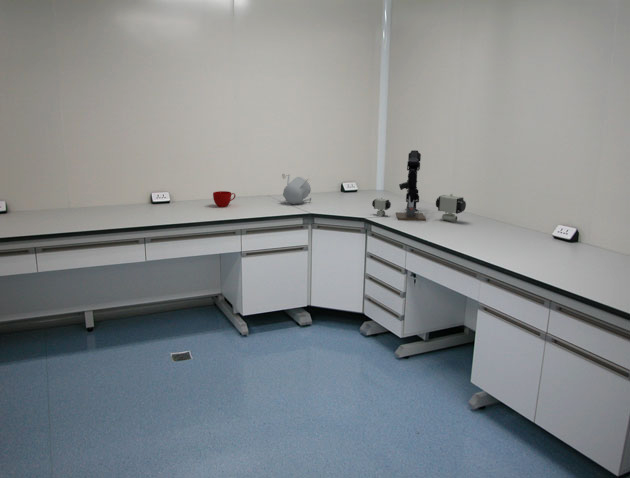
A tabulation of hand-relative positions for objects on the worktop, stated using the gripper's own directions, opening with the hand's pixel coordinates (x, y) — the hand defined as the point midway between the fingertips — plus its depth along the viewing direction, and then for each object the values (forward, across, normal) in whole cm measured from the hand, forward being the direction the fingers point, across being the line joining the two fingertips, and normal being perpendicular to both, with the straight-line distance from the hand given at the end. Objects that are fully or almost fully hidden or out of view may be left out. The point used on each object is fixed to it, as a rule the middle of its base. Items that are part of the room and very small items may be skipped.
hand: (411, 202), depth 360 cm
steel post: (+6, 0, 0) cm, 6 cm away
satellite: (+11, -41, -80) cm, 90 cm away
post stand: (+11, 0, 0) cm, 11 cm away
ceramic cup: (+11, -25, -131) cm, 134 cm away
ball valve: (+11, +8, +25) cm, 28 cm away
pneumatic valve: (+11, -5, -19) cm, 22 cm away
